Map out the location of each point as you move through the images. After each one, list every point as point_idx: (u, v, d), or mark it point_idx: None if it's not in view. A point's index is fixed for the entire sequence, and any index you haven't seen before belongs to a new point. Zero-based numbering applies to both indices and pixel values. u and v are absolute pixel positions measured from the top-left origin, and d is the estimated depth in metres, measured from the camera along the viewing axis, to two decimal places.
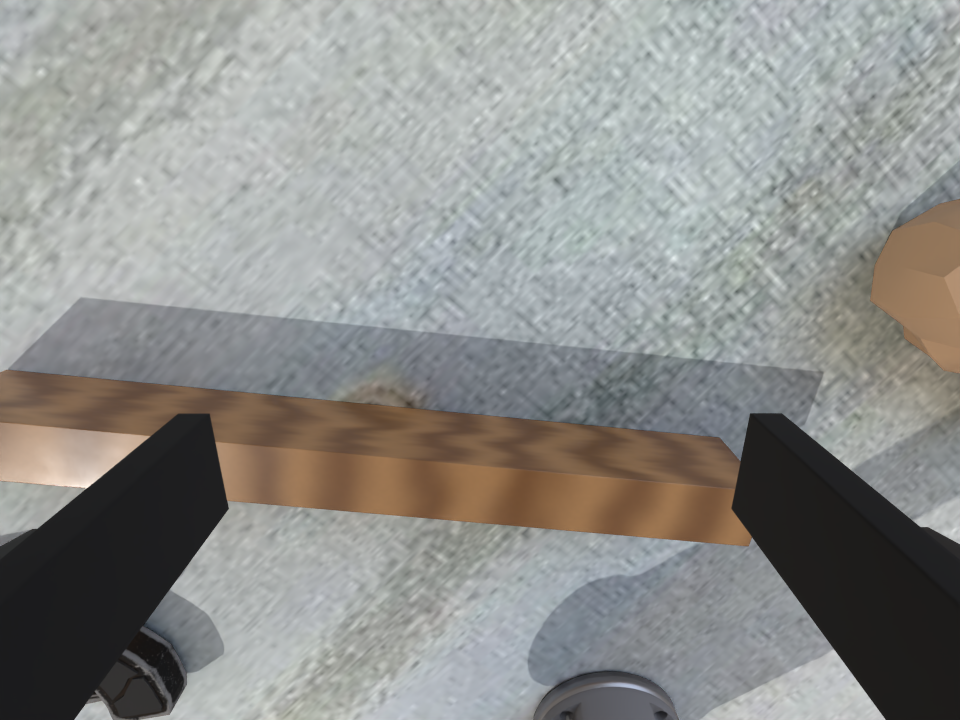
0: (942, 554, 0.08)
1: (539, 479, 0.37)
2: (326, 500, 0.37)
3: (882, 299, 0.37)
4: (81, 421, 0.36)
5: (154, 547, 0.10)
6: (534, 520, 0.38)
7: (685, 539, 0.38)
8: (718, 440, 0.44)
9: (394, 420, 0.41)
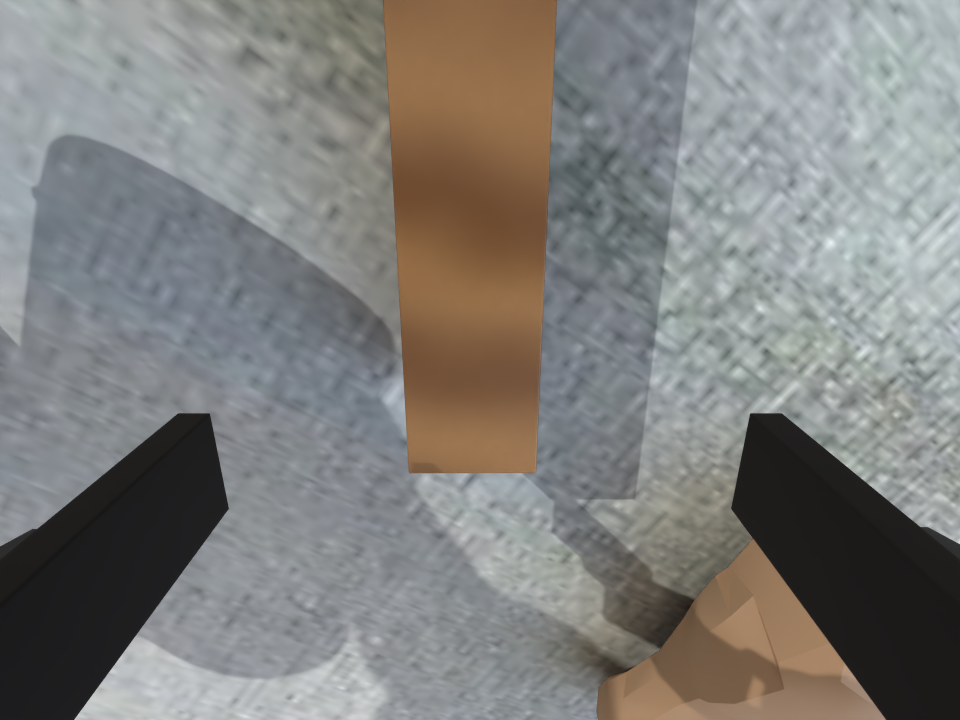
0: (942, 554, 0.08)
1: None
2: None
3: None
4: None
5: (154, 547, 0.10)
6: None
7: (405, 353, 0.18)
8: None
9: None
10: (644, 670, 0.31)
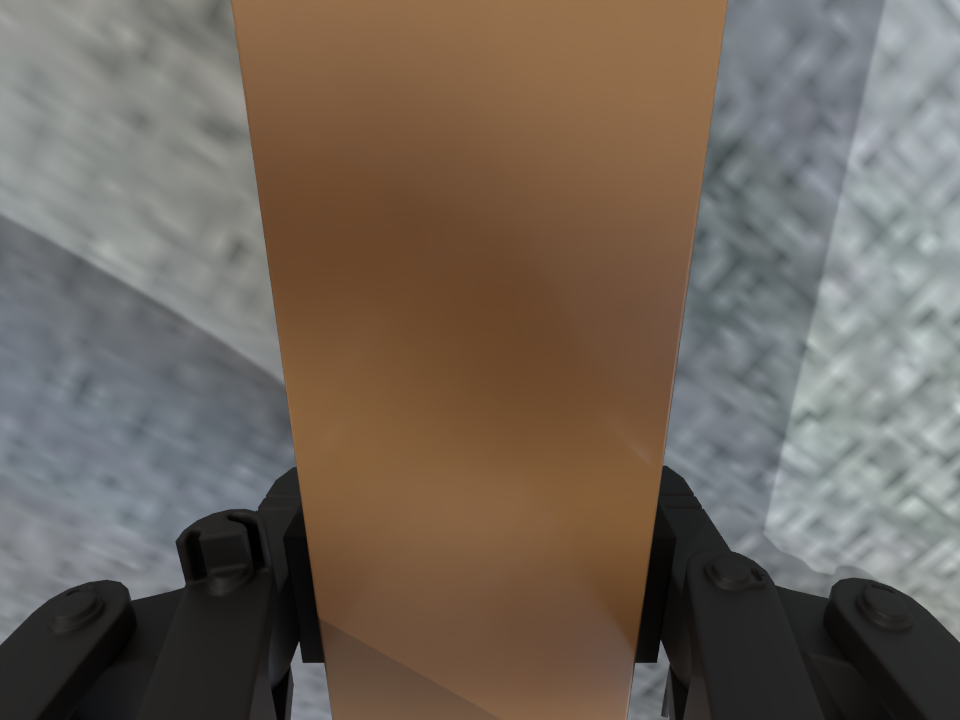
0: None
1: None
2: None
3: None
4: None
5: None
6: None
7: (323, 611, 0.08)
8: None
9: None
10: None
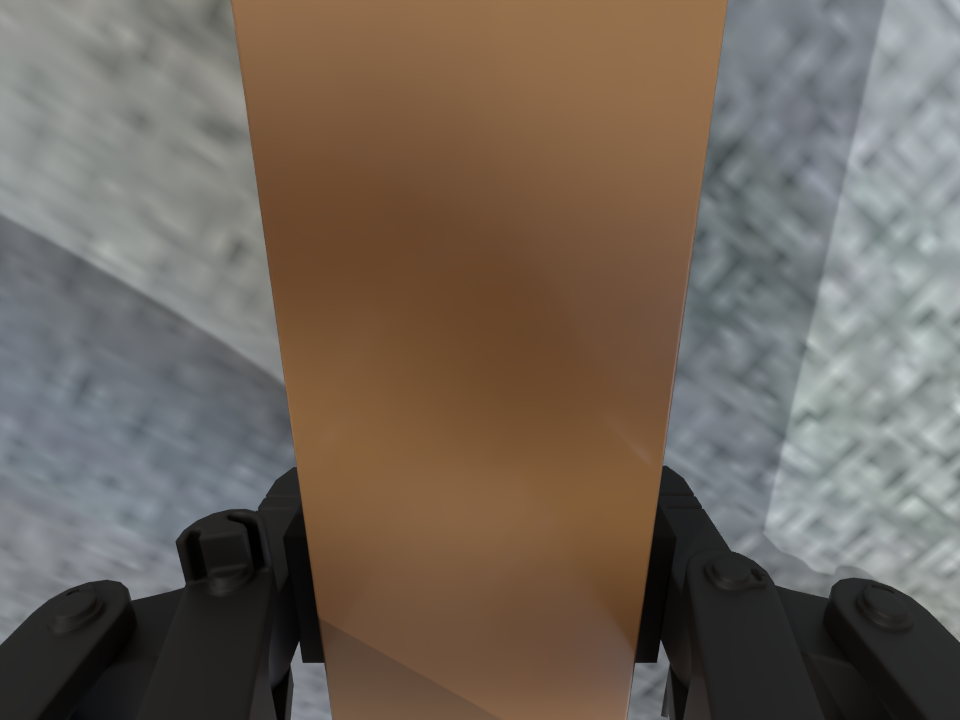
0: None
1: None
2: None
3: None
4: None
5: None
6: None
7: (323, 612, 0.08)
8: None
9: None
10: None
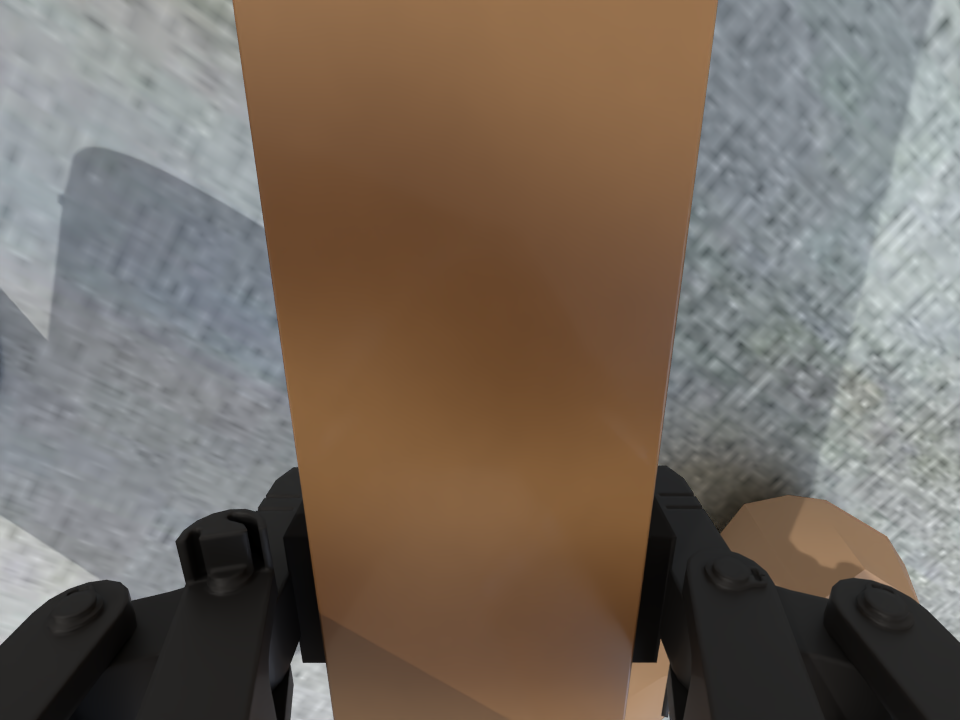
0: None
1: None
2: None
3: (762, 515, 0.28)
4: None
5: None
6: None
7: (323, 604, 0.08)
8: None
9: None
10: None
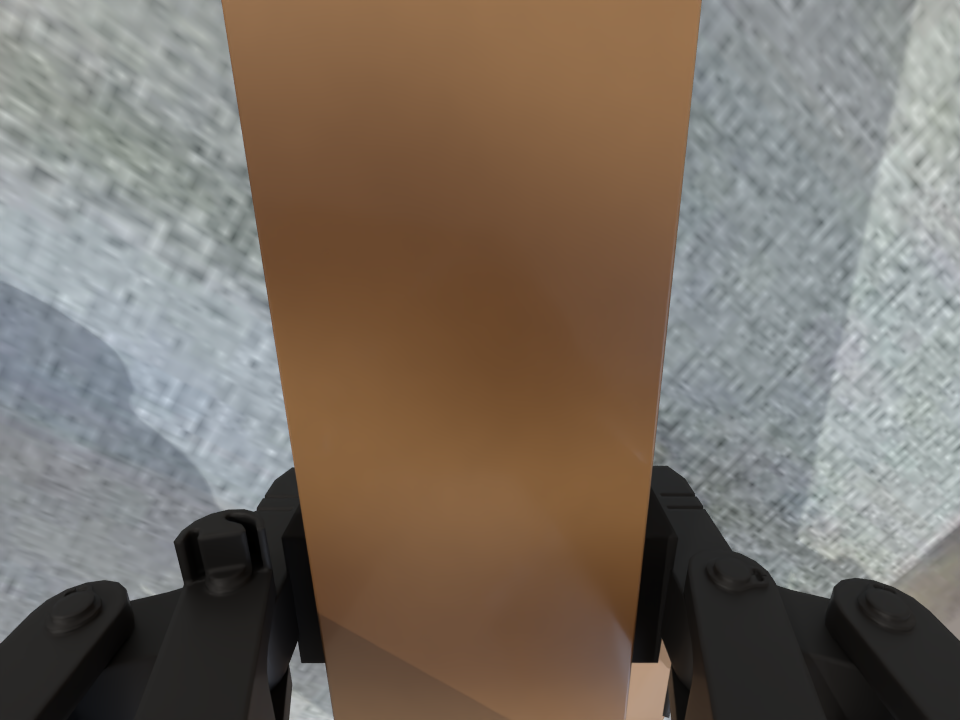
0: None
1: None
2: None
3: None
4: None
5: None
6: None
7: (322, 604, 0.08)
8: None
9: None
10: None
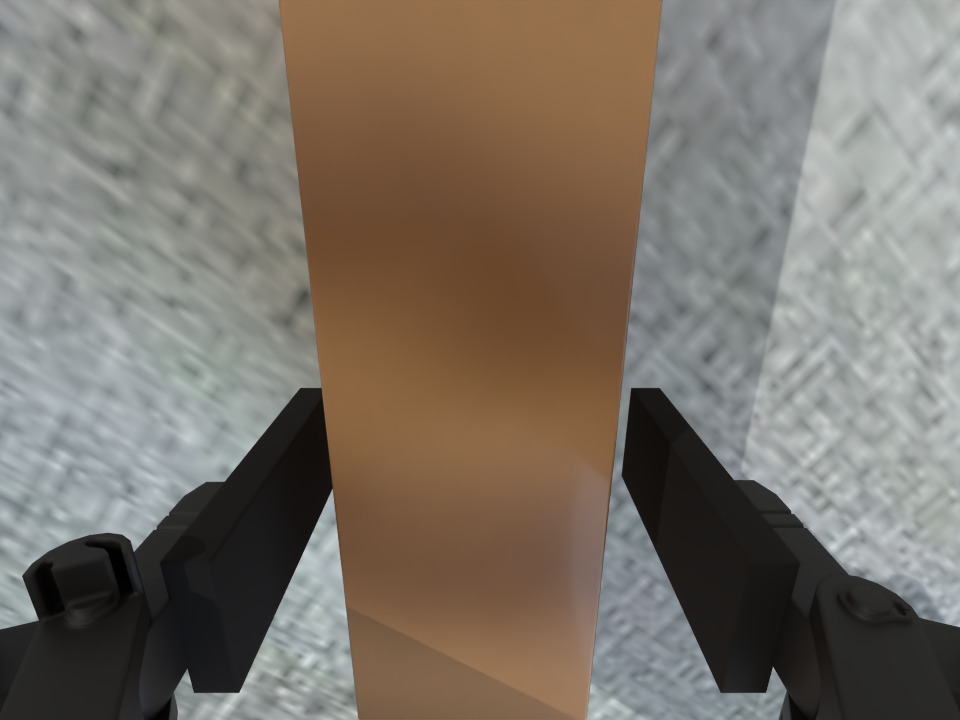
0: (736, 495, 0.09)
1: None
2: None
3: None
4: None
5: (301, 501, 0.12)
6: None
7: (343, 532, 0.09)
8: None
9: None
10: None
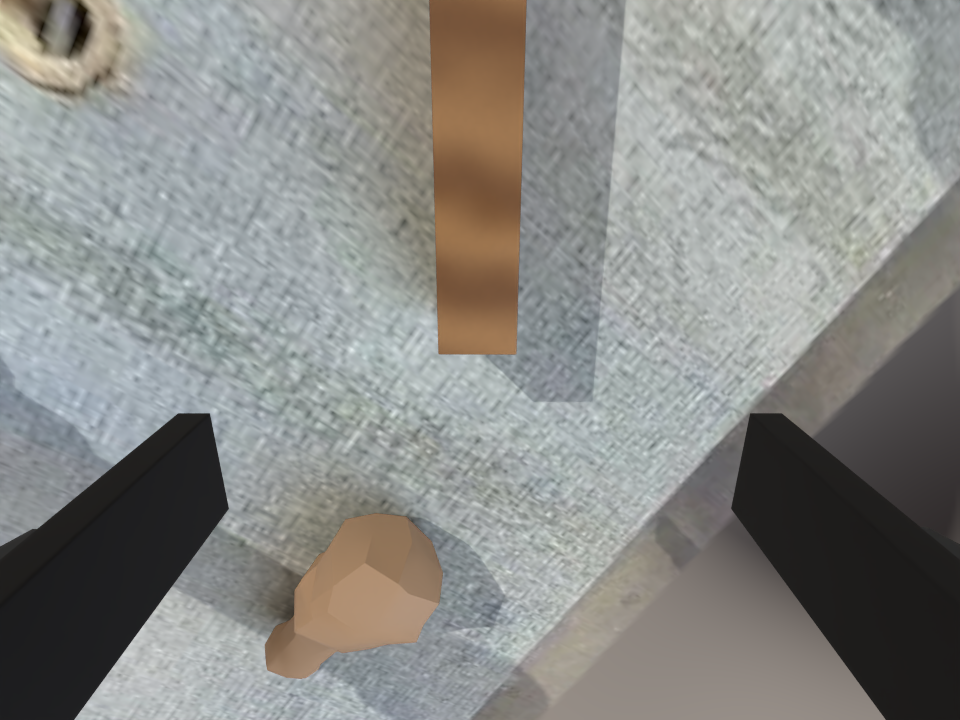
0: (942, 554, 0.08)
1: (511, 52, 0.26)
2: None
3: (346, 527, 0.42)
4: None
5: (154, 547, 0.10)
6: (443, 55, 0.26)
7: (438, 277, 0.30)
8: None
9: None
10: None
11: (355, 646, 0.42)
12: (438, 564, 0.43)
